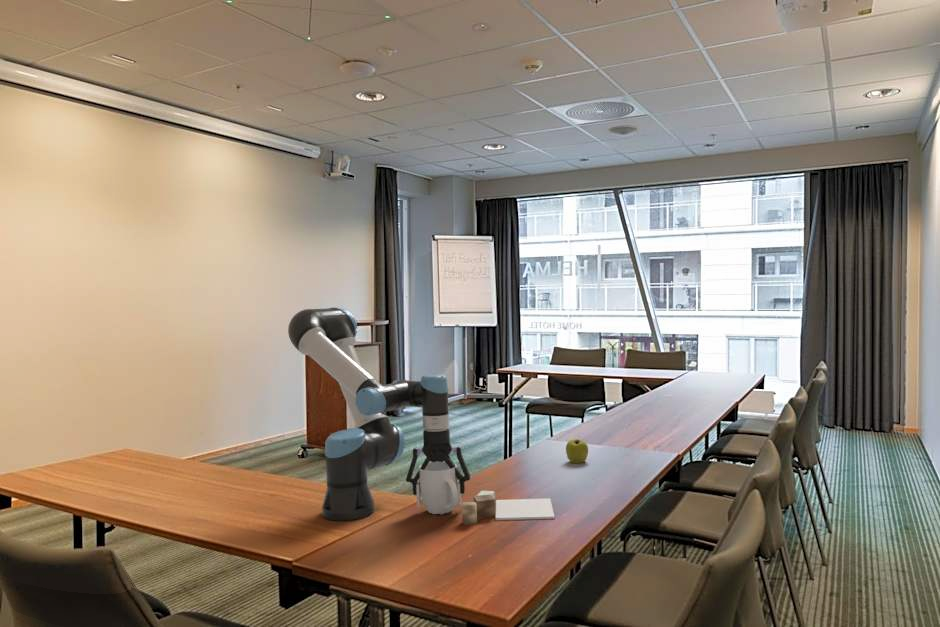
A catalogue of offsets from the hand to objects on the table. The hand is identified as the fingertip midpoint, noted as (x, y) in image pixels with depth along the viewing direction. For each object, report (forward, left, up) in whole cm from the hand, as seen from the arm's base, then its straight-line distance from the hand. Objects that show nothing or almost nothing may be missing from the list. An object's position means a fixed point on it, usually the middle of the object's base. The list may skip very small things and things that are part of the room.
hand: (439, 505), depth 185 cm
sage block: (+13, +3, -2) cm, 14 cm away
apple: (+45, +52, -2) cm, 69 cm away
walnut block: (+13, -4, -2) cm, 14 cm away
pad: (+24, 0, -2) cm, 24 cm away
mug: (+1, 0, -2) cm, 2 cm away
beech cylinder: (+9, -9, -2) cm, 13 cm away
